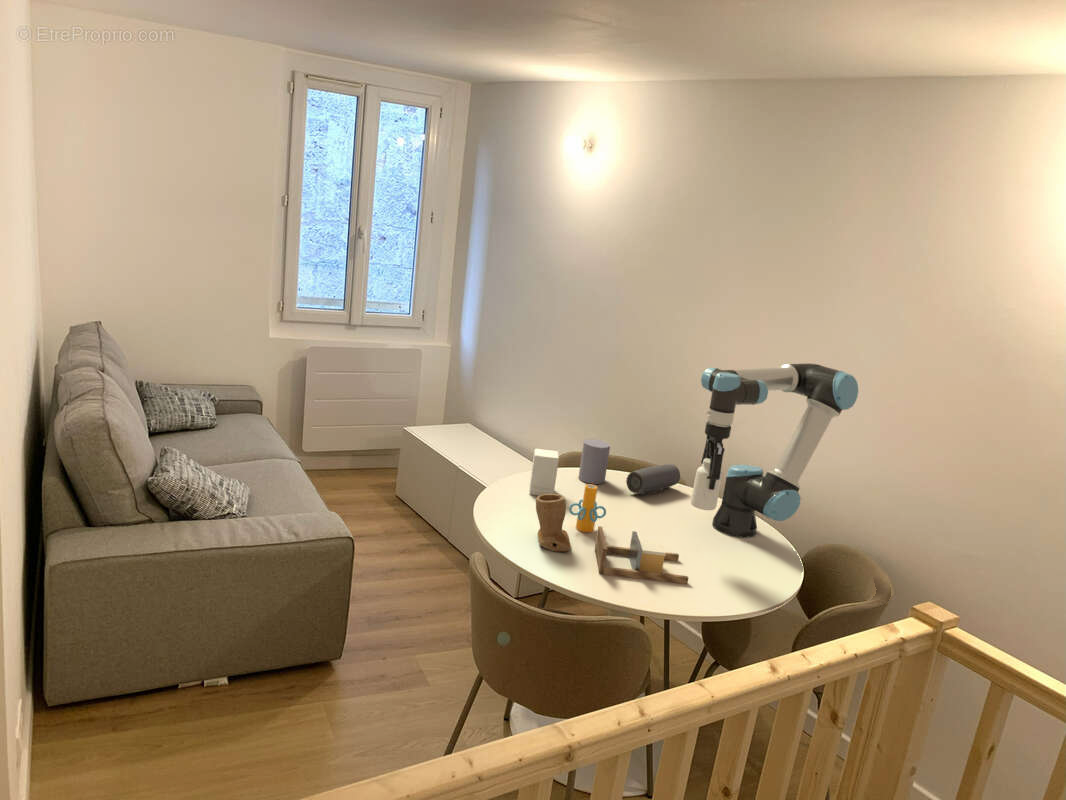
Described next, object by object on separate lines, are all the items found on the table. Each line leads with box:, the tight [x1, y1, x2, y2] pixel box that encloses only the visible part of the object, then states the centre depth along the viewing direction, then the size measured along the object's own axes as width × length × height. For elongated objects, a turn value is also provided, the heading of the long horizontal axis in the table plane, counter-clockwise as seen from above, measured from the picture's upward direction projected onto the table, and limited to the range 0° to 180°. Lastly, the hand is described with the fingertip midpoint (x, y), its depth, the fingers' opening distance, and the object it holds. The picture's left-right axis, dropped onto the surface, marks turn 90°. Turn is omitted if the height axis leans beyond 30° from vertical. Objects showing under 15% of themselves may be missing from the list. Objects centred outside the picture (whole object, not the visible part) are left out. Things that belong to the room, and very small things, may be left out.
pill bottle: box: [690, 458, 723, 511], centre depth 247 cm, size 8×8×15 cm
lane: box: [594, 526, 689, 585], centre depth 239 cm, size 26×16×8 cm, turn 90°
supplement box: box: [528, 448, 560, 496], centre depth 290 cm, size 9×9×15 cm
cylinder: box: [568, 483, 607, 533], centre depth 261 cm, size 12×10×15 cm
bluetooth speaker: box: [625, 463, 681, 495], centre depth 307 cm, size 23×9×10 cm, turn 133°
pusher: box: [628, 531, 642, 570], centre depth 239 cm, size 1×13×8 cm, turn 1°
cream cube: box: [639, 539, 666, 573], centre depth 240 cm, size 7×7×7 cm
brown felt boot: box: [535, 493, 572, 552], centre depth 247 cm, size 15×12×15 cm
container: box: [578, 438, 611, 485], centre depth 310 cm, size 10×10×15 cm
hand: (705, 493), depth 248 cm, fingers closed on pill bottle, 8 cm apart
